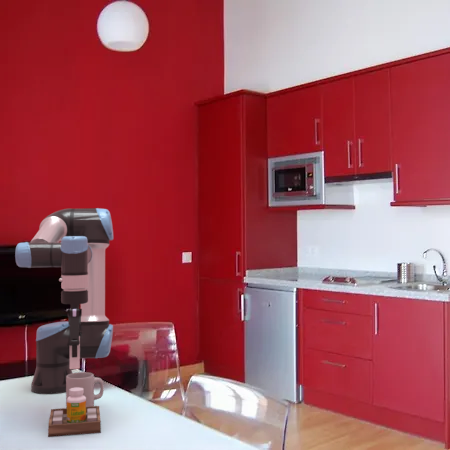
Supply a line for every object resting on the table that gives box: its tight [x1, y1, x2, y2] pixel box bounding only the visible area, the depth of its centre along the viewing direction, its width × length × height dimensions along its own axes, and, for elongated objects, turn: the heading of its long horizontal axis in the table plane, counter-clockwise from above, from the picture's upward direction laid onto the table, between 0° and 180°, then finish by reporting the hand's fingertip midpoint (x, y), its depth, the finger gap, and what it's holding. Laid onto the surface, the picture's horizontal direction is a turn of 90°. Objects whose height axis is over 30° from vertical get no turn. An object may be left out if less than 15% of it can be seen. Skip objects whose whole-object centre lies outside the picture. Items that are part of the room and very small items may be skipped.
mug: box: [65, 371, 105, 408], centre depth 190 cm, size 12×8×11 cm
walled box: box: [47, 405, 102, 438], centre depth 174 cm, size 16×14×3 cm
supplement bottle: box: [67, 387, 86, 424], centre depth 174 cm, size 5×5×10 cm
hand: (74, 363), depth 174 cm, fingers open, 13 cm apart
